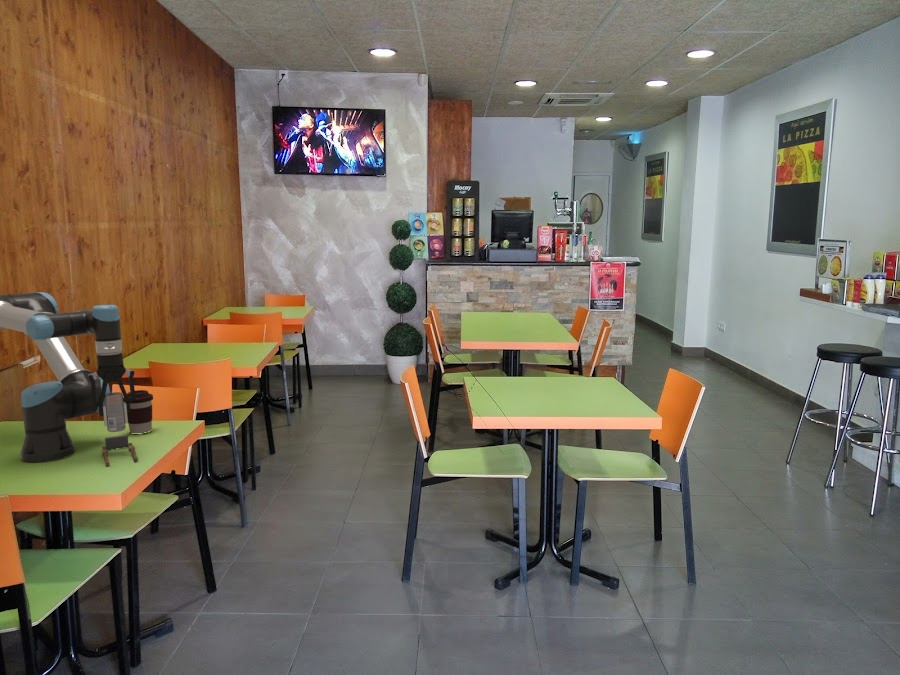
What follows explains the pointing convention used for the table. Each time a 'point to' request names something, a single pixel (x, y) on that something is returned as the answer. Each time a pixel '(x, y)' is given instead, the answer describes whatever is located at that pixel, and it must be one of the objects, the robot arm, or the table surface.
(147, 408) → the coffee cup
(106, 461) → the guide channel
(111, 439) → the stop block
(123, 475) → the table surface
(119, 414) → the energy drink
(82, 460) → the table surface
